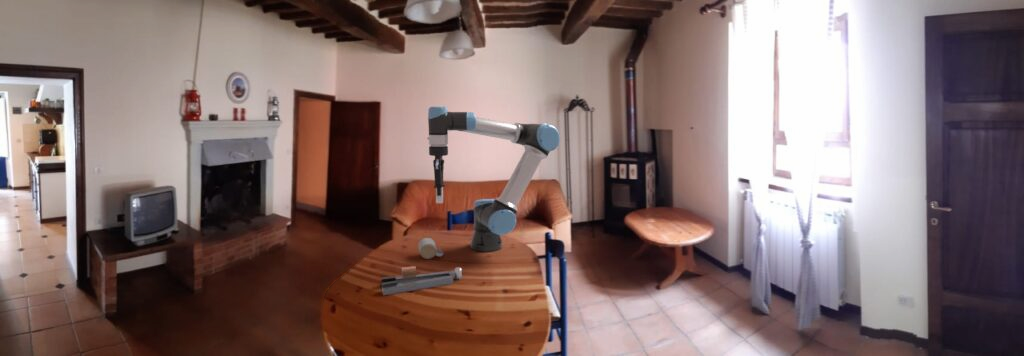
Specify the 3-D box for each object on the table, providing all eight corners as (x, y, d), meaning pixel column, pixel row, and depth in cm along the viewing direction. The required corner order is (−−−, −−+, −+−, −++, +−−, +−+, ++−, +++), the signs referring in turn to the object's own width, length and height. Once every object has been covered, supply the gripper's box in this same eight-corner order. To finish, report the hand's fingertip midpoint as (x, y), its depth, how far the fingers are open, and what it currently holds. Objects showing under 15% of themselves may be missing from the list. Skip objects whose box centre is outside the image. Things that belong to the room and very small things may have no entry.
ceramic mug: (420, 260, 174) (420, 243, 173) (418, 254, 181) (418, 238, 180) (444, 258, 177) (444, 241, 176) (441, 252, 185) (441, 236, 184)
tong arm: (459, 273, 159) (459, 261, 158) (462, 278, 154) (462, 266, 153) (381, 282, 150) (380, 269, 149) (381, 288, 144) (381, 275, 144)
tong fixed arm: (450, 280, 153) (450, 272, 153) (453, 283, 150) (453, 275, 150) (382, 291, 143) (381, 283, 143) (383, 295, 140) (383, 286, 139)
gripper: (431, 144, 169) (432, 199, 172) (426, 146, 156) (427, 206, 159) (449, 144, 169) (450, 199, 172) (446, 146, 156) (447, 206, 160)
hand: (439, 202), depth 166 cm, fingers closed
